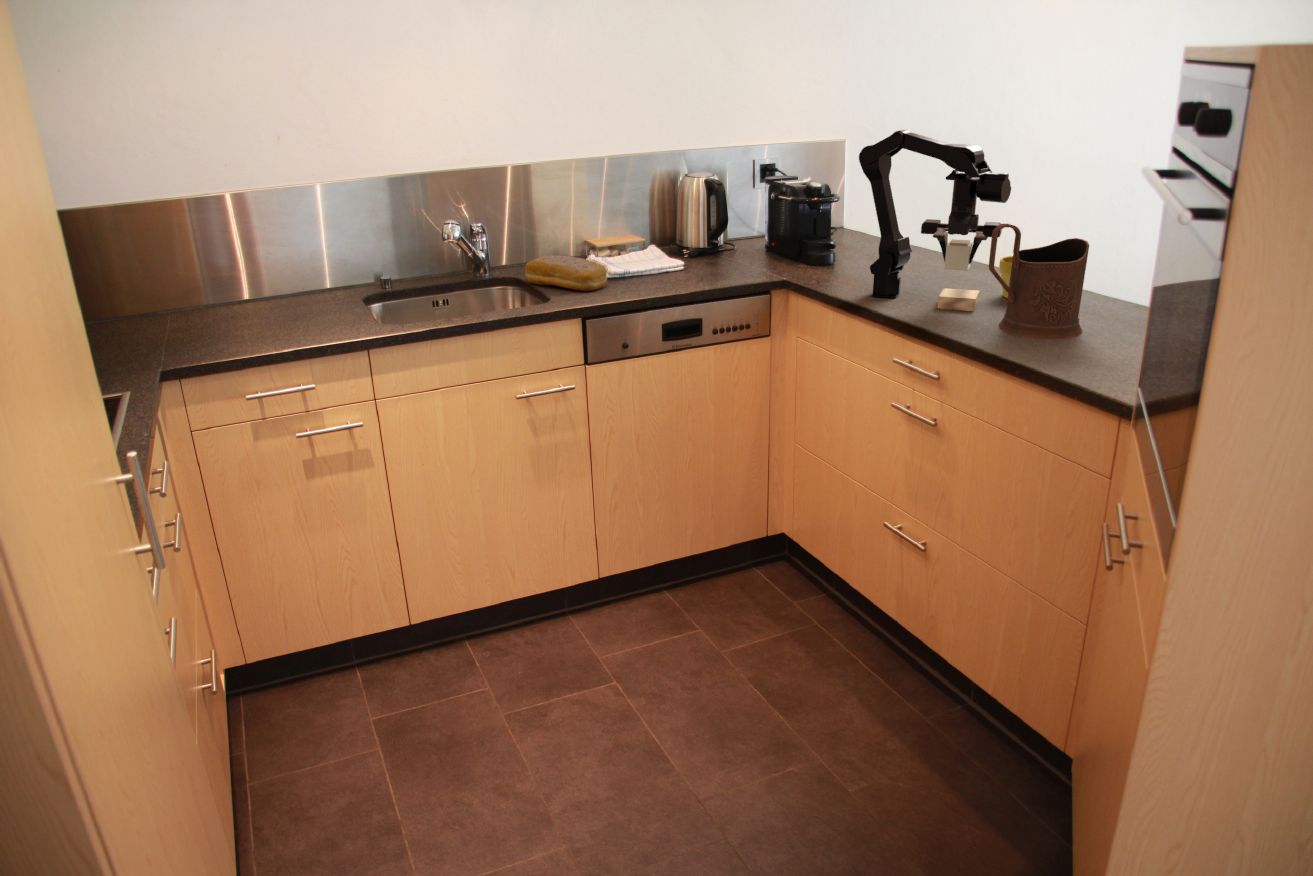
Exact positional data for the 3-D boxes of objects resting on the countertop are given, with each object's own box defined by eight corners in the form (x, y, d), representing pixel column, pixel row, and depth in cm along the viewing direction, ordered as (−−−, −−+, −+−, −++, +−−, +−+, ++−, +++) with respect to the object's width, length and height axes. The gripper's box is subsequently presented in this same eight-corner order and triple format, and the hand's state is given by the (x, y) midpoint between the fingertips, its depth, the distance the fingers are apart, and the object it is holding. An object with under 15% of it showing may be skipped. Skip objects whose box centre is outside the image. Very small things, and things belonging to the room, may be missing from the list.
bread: (545, 276, 282) (543, 250, 279) (617, 285, 269) (616, 258, 266) (517, 285, 272) (514, 258, 269) (590, 295, 259) (589, 267, 256)
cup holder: (1100, 335, 212) (1118, 224, 202) (1004, 344, 207) (1018, 231, 197) (1051, 315, 228) (1066, 211, 219) (962, 323, 224) (973, 218, 214)
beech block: (937, 309, 237) (938, 296, 236) (942, 301, 244) (943, 288, 243) (974, 312, 233) (975, 298, 232) (978, 303, 241) (979, 290, 240)
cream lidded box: (944, 269, 233) (946, 242, 230) (947, 264, 238) (949, 238, 235) (967, 270, 231) (970, 244, 228) (970, 266, 236) (972, 239, 233)
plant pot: (1040, 302, 240) (1045, 264, 236) (998, 301, 242) (1003, 263, 238) (1033, 292, 249) (1038, 255, 245) (993, 291, 251) (997, 255, 247)
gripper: (920, 202, 225) (914, 266, 231) (1001, 206, 218) (993, 272, 224) (927, 196, 234) (921, 257, 240) (1005, 199, 227) (997, 262, 233)
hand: (957, 262), depth 234 cm, fingers closed on cream lidded box, 6 cm apart
